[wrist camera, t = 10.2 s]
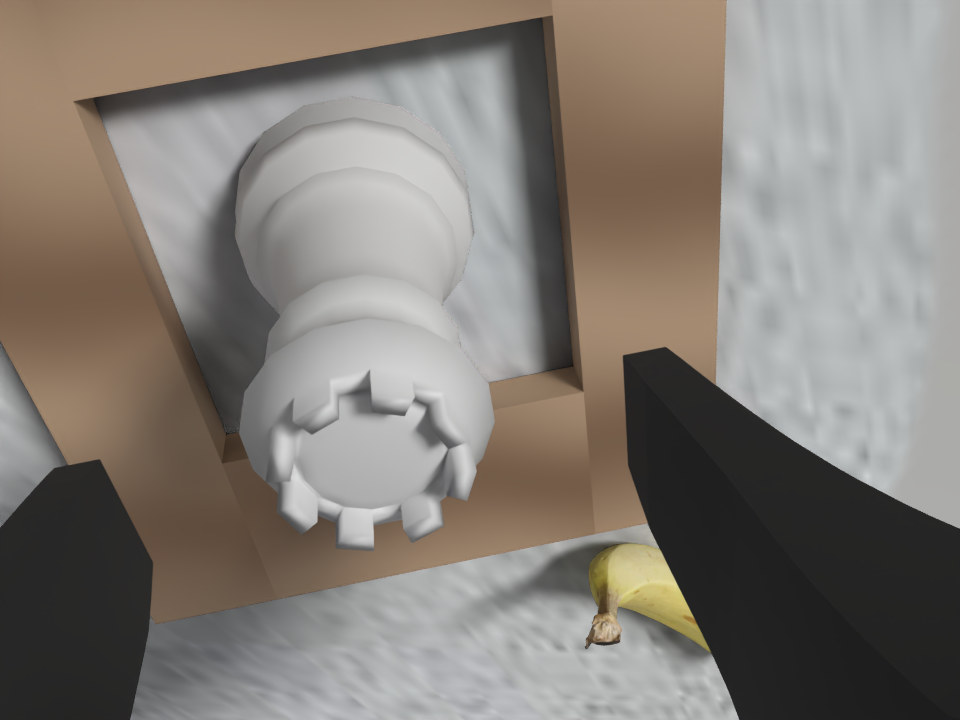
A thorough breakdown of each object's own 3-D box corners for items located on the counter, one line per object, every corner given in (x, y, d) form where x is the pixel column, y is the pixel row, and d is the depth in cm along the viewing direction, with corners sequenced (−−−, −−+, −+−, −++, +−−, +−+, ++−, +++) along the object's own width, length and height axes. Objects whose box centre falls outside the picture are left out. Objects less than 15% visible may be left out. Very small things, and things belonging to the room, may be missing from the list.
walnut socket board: (697, 482, 23) (711, 509, 22) (161, 592, 22) (155, 624, 21) (710, -351, 13) (736, -359, 12) (-251, -195, 12) (-291, -192, 12)
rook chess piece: (414, 328, 19) (461, 628, 12) (207, 260, 17) (134, 564, 11) (506, 143, 17) (622, 386, 10) (280, 48, 15) (246, 262, 9)
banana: (535, 535, 23) (569, 662, 20) (578, 493, 23) (621, 617, 19) (732, 632, 27) (788, 752, 24) (774, 598, 26) (839, 717, 23)
